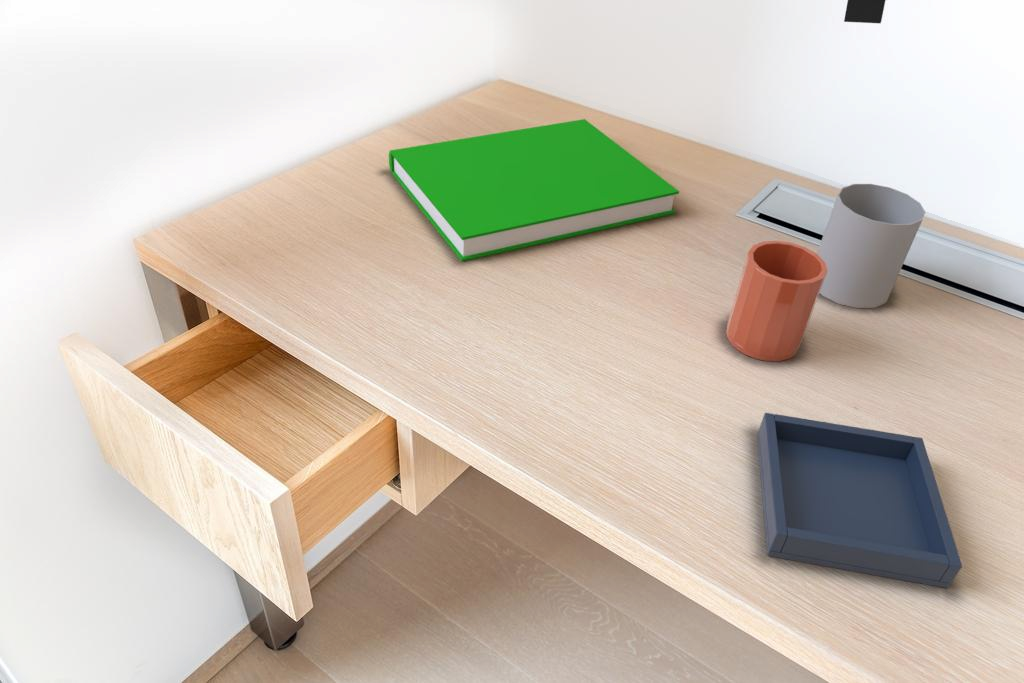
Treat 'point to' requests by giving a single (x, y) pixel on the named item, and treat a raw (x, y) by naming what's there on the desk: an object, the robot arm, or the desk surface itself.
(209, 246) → the desk surface
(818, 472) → the tray
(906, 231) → the cup
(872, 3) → the robot arm
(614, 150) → the book
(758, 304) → the tumbler
